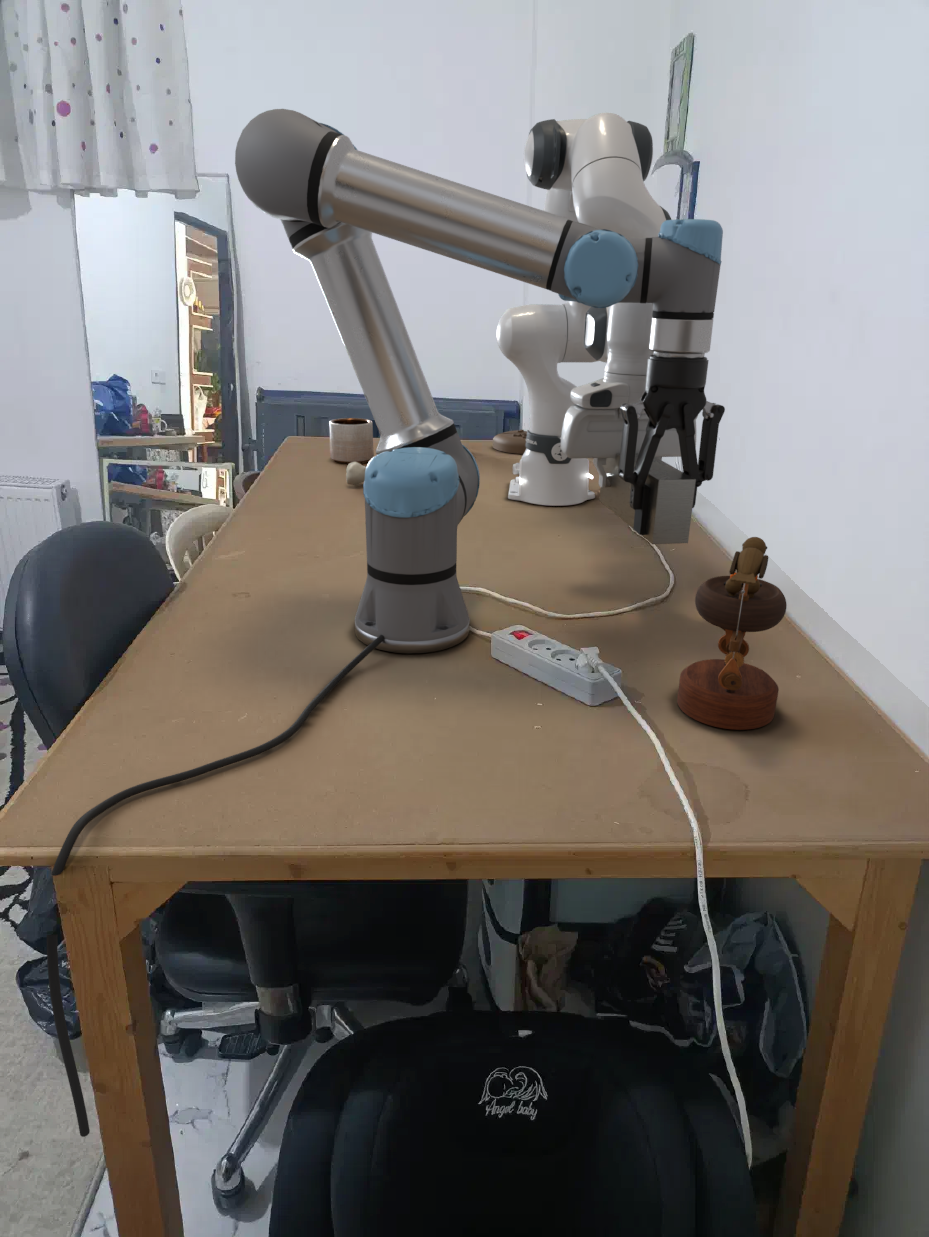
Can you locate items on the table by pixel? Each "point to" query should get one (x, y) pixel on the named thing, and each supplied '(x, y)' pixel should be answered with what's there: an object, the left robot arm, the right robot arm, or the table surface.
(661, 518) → the bar
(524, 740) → the table surface
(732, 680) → the music box
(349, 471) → the dog toy
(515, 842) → the table surface
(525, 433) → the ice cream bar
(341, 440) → the planter
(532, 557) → the table surface
